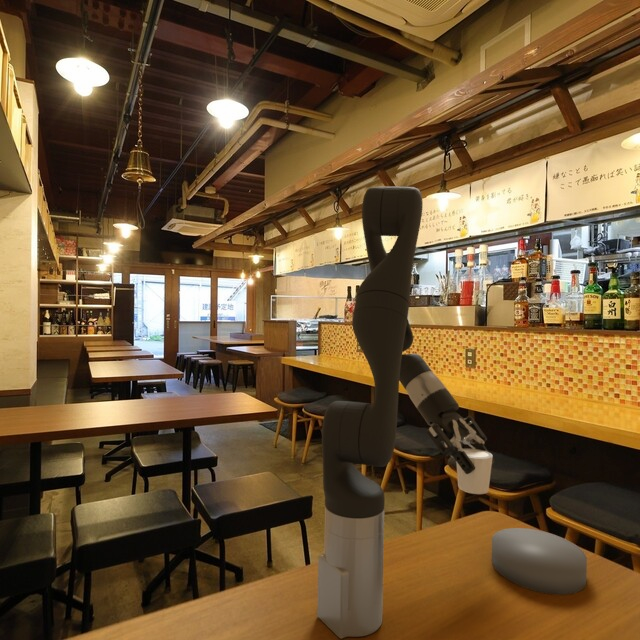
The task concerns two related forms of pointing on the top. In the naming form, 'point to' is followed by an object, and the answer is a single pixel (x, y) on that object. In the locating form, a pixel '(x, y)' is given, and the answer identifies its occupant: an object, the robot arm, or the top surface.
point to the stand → (539, 561)
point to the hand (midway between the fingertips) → (481, 467)
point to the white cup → (476, 472)
